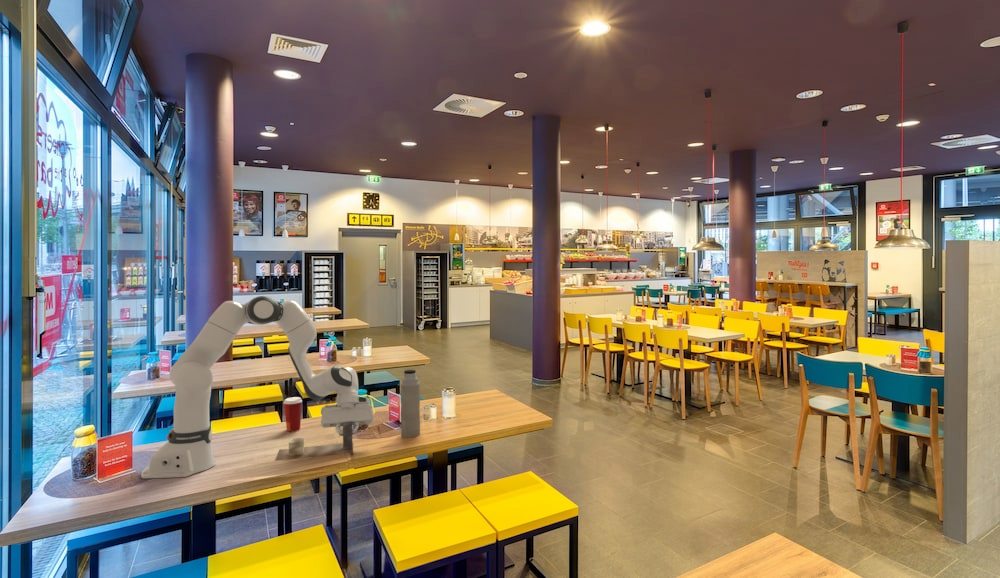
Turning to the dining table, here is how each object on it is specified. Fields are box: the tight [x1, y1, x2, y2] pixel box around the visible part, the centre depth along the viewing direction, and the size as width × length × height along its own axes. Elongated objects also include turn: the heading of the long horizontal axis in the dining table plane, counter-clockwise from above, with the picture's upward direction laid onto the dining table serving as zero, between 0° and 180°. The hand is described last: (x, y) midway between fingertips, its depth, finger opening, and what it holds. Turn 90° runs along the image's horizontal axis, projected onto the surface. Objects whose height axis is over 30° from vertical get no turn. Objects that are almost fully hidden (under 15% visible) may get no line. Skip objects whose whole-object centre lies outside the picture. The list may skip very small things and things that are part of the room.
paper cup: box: [283, 396, 303, 432], centre depth 224 cm, size 8×8×14 cm
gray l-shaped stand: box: [274, 422, 354, 461], centre depth 195 cm, size 28×12×11 cm, turn 106°
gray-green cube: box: [288, 437, 305, 456], centre depth 193 cm, size 5×5×5 cm
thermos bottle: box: [400, 369, 421, 438], centre depth 217 cm, size 8×8×28 cm
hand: (347, 434), depth 198 cm, fingers closed on gray l-shaped stand, 3 cm apart
